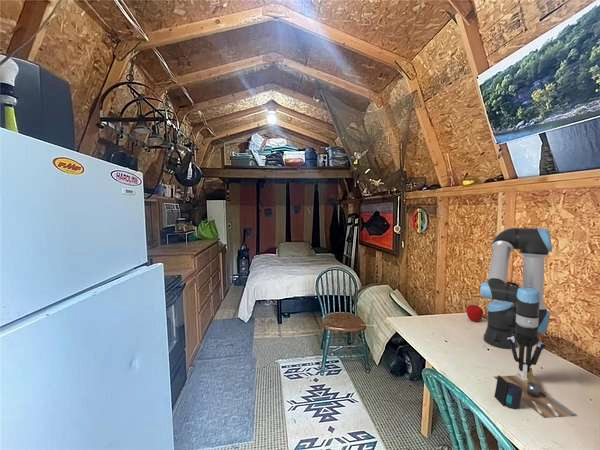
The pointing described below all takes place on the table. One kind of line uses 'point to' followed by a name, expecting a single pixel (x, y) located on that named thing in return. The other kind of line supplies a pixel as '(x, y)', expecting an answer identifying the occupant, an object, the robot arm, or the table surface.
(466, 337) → the table surface
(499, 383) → the speaker
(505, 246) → the robot arm
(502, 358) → the table surface
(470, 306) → the apple
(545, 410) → the plate
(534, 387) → the latch bar
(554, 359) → the table surface
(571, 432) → the table surface
